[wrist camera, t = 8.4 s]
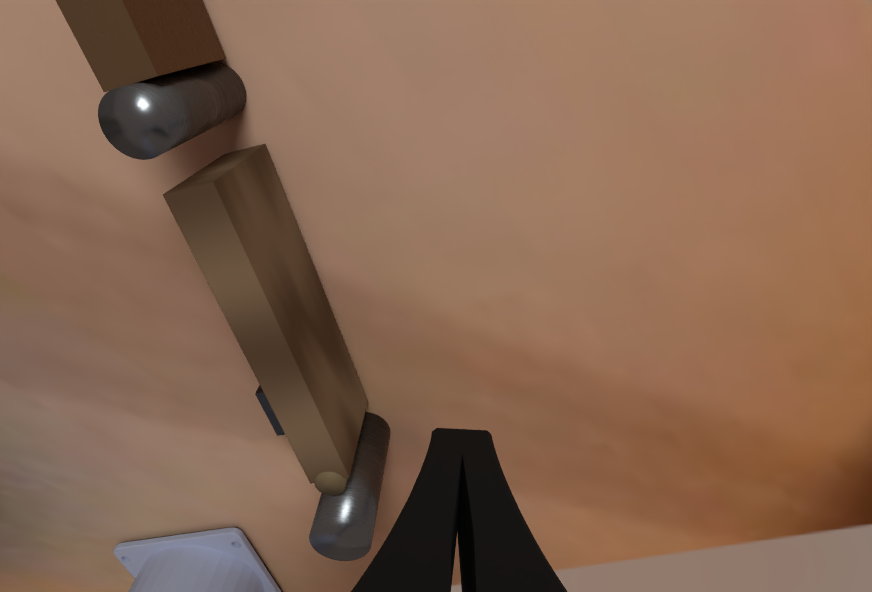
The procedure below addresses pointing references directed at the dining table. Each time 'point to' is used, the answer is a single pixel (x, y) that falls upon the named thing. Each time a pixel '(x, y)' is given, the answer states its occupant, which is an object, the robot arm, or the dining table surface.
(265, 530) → the dining table surface
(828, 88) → the dining table surface
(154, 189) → the dining table surface
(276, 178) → the handle
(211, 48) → the hammer
